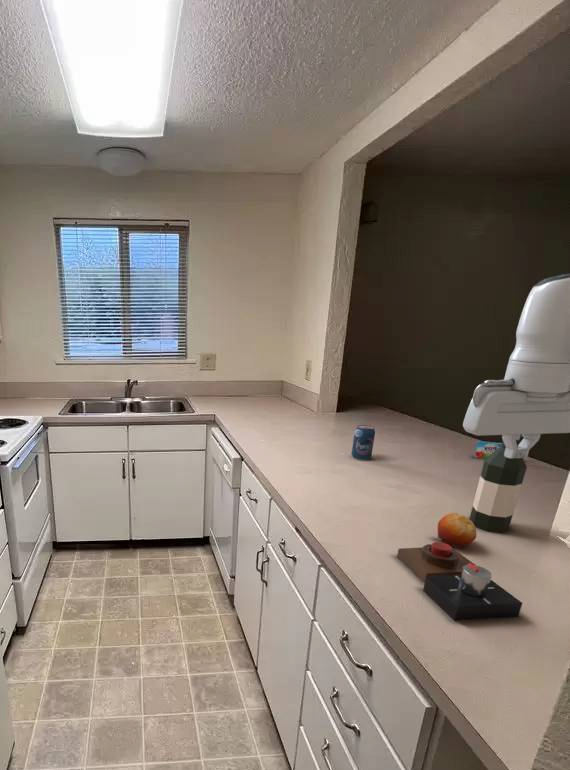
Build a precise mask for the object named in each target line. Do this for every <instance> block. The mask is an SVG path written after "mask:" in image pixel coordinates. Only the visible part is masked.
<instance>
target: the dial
mask: <svg viewBox="0 0 570 770" xmlns="http://www.w3.org/2000/svg"><path fill="white" fill-rule="evenodd" d="M492 576H493V574H492V572H491V571H490V570H488V569H487V568H485V567H482V566H480V565H476V564H475V565H473V564H471V563H468V565H465V566H463V568H462V572H461V576H460V580H459V584H458V587H459V589H460V590H462V591H463V592H465V593H467V594H469V595H473V596H485V595H486V593H487V590H488V586H489V583H490V580H492Z"/></svg>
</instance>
